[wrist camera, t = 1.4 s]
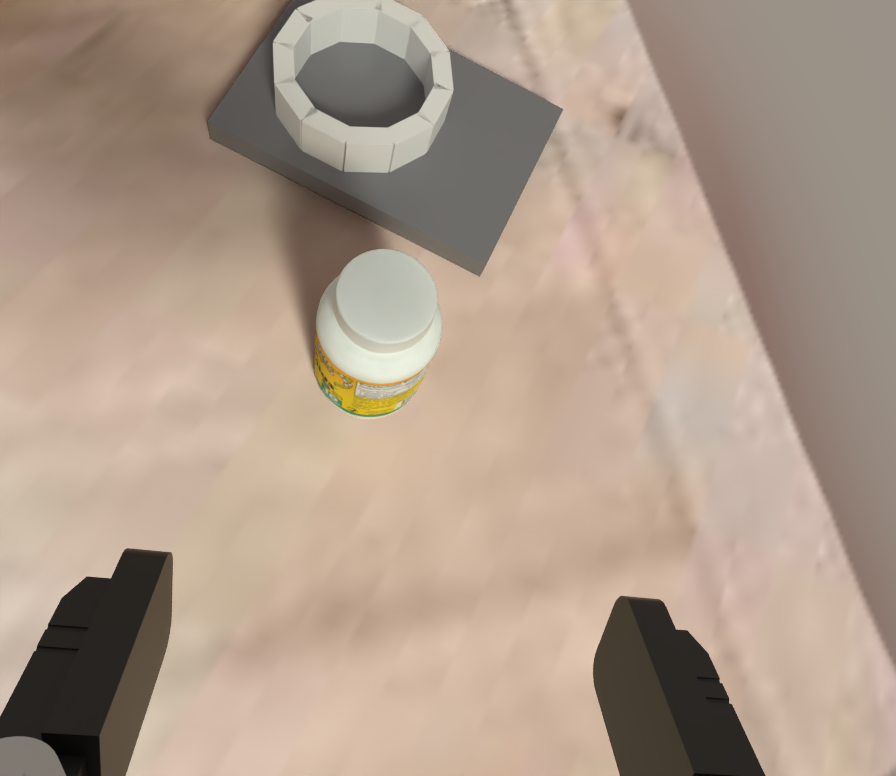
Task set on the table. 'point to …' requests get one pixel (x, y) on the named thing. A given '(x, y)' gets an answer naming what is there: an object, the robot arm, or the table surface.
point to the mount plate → (388, 124)
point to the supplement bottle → (376, 333)
